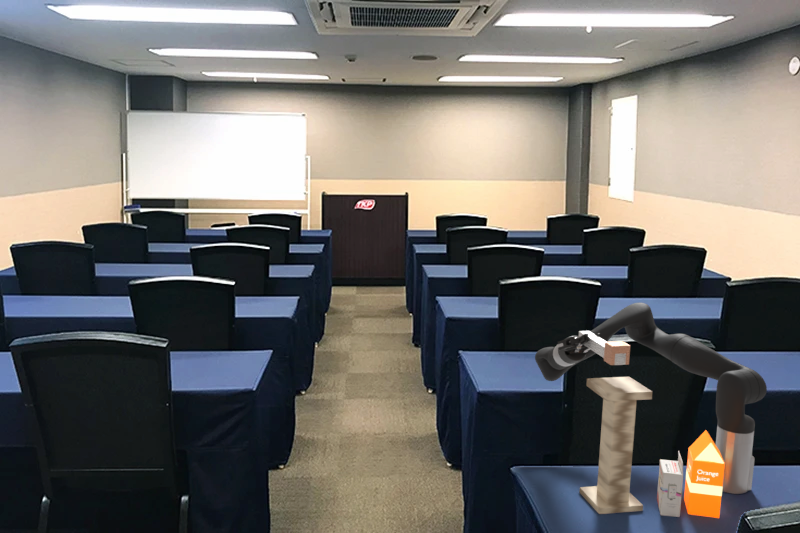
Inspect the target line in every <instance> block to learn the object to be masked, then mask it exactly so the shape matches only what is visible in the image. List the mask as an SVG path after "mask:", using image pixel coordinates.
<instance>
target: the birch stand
mask: <svg viewBox="0 0 800 533" xmlns="http://www.w3.org/2000/svg"><path fill="white" fill-rule="evenodd" d="M586 387H588V388H589V389H590V390H591V391H593V393H595V394H597V395H598V396H600V397H601V398H602V412H601V426H600V427H601V428H600V429H601V430H600V441H599V442H600V444H599V457H598V470H597V484H596V485H594V486H580V487H579V490H578V491H579V494H580V495H581V496H582V497H583V498H584V499H585V501H586V502H587V503H588V504H590V506H591V507H592V508H593V509H594V511H596V513H598V514H599V515H607V514H609V515H610V514H616V513H617V514H618V513H619V514H620V513H630V512H632V513H633V512H643V511H644V505H643V503H641V502H640V501H639V500H638V499H637V498H636V497H635V496H634V495H633V494H632V493H631V492H630V491H631V488H630V487H631V477H632V476H631V475H632V464H633V463H632V462H633V454H634V453H633V452H634V451H633V450H634V441H635V440H634V439H635V426H636V413H637V412H636V411H637V401H642V400H645V401H646V400H653V390H651V389H649V388H648V387H646V386H644V385H643V384H642V383H640V382H638V381H637V380H635V379H634V378H632V377H630V376H612V377H593V378H591V377H589V378H586Z"/></svg>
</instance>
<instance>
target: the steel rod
mask: <svg viewBox="0 0 800 533" xmlns="http://www.w3.org/2000/svg"><path fill="white" fill-rule="evenodd" d="M590 331H591V330H579V331H578V336H582V335H584V334H588V336H589V337H588V338H589V341H588V342H586V343H585V344H583V345H585V346H586V347H588V348H589V349H591V350H592V351H594V352H595V353H596V354H597V355H599V356H600V357H602V358H603V362H606V364H608V365H610V366H623V365H626V366H627V365H628V366H629V365H630V355H631V344H628V343H627V342H625V341H605V340H603V339H602V338H600V337H598V336H596V335H595V334H593V333H592V332H590Z"/></svg>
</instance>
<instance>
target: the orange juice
mask: <svg viewBox="0 0 800 533" xmlns="http://www.w3.org/2000/svg"><path fill="white" fill-rule="evenodd" d="M687 449H688V451H687V462H686V470H685V482H684V483H685V484H684V494H683V500H684V501H683V502H684V503H685V508H686V512H687V514H688V515H691V516H697V517H698V516H699V517H700V516H701V517H707V518H715V519H720V515H721V506H722V504H721V503H722V496H723V491H722V489H723V477H724V467H725V463H724V461H723V458H722V456H721V453H720V451H719V450H718V448H717V446H716V442H715V441H714V440H713V438H712V437H711V435H710V433H709V431H707V430H706V429H705V430H704V431H703V432H702V433H701V434H700V435H699V436H698V438H696V439H695V441H694V442H693V443H692V444H691V445H690V446H689V447H688V448H687Z"/></svg>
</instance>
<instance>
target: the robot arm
mask: <svg viewBox="0 0 800 533" xmlns="http://www.w3.org/2000/svg"><path fill="white" fill-rule="evenodd" d="M621 329H624V330H625V333H626V335H627V336H628V337H629V338H630V339H631V340H632V341H635V342H636V343H638V344H641V345H642V346H645V347H647V348H648V349H651V350H652V351H654V352H656V353H658V354H659V355H661V356H662V357H664V358H665V359H668V360H669V361H671V362H672V363H673V364H675V365H676V366H678V367H679V368H681V369H683V370H685V371H687V372H689V373H691V374H695V375H698V376H701V377H705V378H709V379H712V380H715V381H717V384H716V395H715V415H716V419H717V426H716V437H715V445H716V446H717V448H718V450H719V451H720V453H721V456H722V458H723V461H724V463H725V467H724V477H723V489H722V492H724V493H727V494H733V495H739V494H740V495H741V494H745V493H747V492H748V491H752V486H753V477H754V469H755V468H754V466H755V457H754V456H753V446H754V438H755V437H754V436H755V427H756V421H755V419H754V418H752V417H751V416H750V415H747V414H745V413H746V412H745V410H746V405H748V404H754V403H757V402H760V401H761V400H762V399H763V398H765V396H766V395H767V391H768V388H767V384H766V381H765V379H764V378H763V377H762V375H761V374H760V373H758V372H757V370H754V369H752V368H750V367H748V366H745V365H744V364H740V363H738V362H737V361H734V360H731V359H730V358H728V357H726V356H724V355H722V354H721V353H719V352H717V351H715V350H714V349H712V348H710V347H709V346H707V345H705V344H704V343H702V342H701V341H699V340H697V339H696V338H694V337H692V336H691V335H688V334H686V333H671V334H668V333H666V332H665V331H663V330H661V329H660V328H659V327H658V326H657V325H656V323H655V319H654V314H653V311H652V309H651V306H649V305H648V304H647V303H644V302H633V303H631V304H629V305H627V306H626V307H624V308H622V309H621V310H619V311H618V312H616V313H614V314H613V315H612V316H611V317H609V318H608V319H606V320H605V321H603V322H602V323H600V324H599V325H598V326H596V327H594V328H593V329H592V330H589V331H590V332H592V333H593V334H595V335H596V336H598V337H600V338H602V339H603V340H605V341H607V342H609V340H611V338H612V337H613V336H614V335H615V334H616V333H618V332H619V331H620V330H621ZM588 337H589V336H588V334H584V335H582V336H579V335H571V336H568V337H566V338H564V339H562V340H559V341H557V344H556V346H547V347H543V348H541V349H539V350H537V351H536V353H535V356H534V360H535V362H536V364H537V366H538V368H539V370H540V372H541V374H542V376H543V378H544V379H545V381H548V382H555V381H556V380H558V379H560V378H562V376H563V375H564V374H565V373H567V372H568V371H569V370H570V369H571V368H572V367H574V366H575V365H577V364H579V363H580V362H582V361H584V360H587V359H588V358H590V357H593V356H594V355H596V354H597V353H595V352H594V351H592V350H591V349H589V348H588V347H586V346H585V345H583V344H585V343H586V342H588V341H589V338H588Z"/></svg>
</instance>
